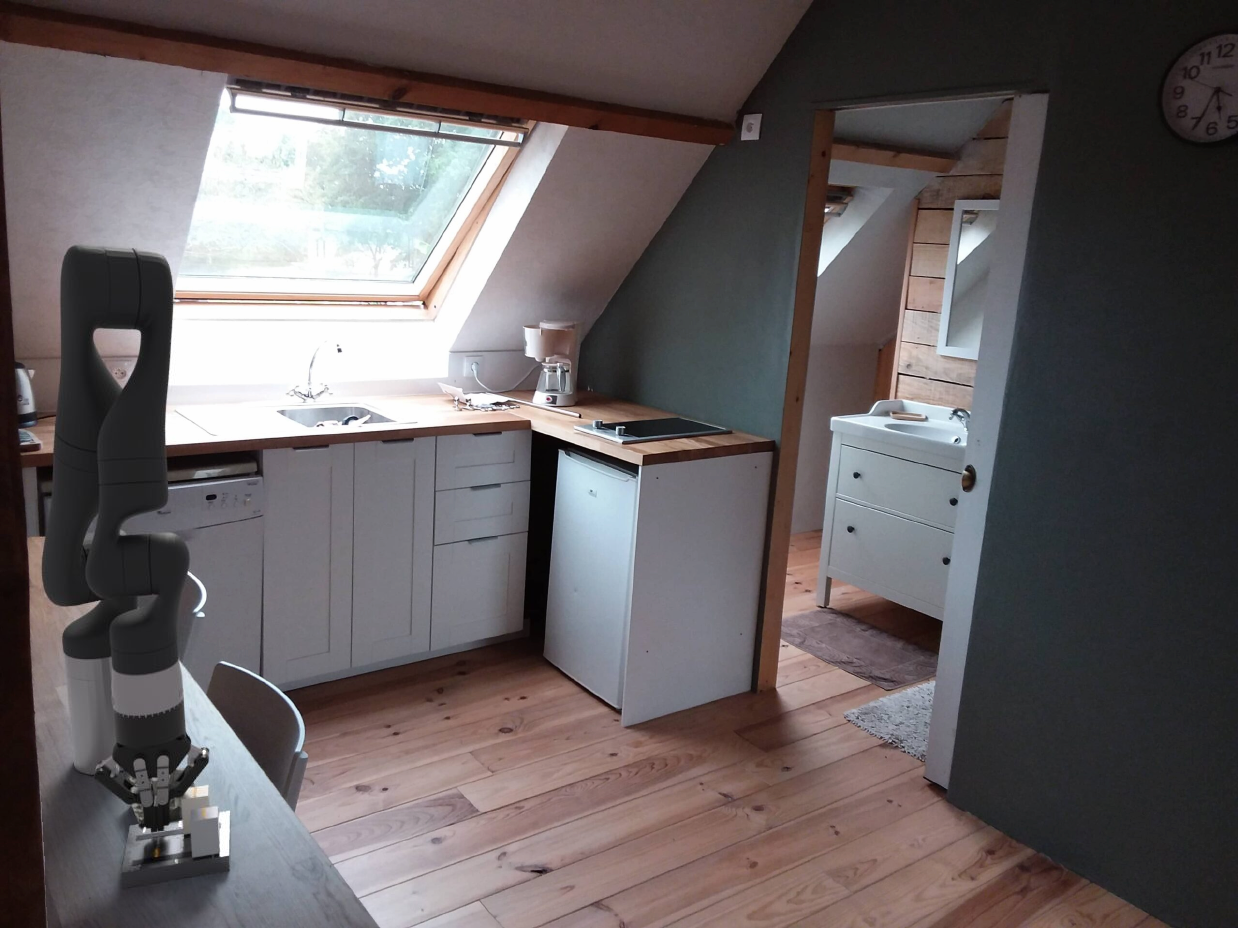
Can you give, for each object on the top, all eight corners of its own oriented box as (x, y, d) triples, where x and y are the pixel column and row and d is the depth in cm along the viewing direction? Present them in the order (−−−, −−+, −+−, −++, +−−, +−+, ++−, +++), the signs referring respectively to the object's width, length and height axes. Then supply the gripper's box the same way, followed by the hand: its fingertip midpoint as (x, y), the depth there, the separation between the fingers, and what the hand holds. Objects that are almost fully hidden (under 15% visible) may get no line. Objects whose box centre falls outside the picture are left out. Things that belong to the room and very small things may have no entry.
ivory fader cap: (184, 823, 123) (182, 788, 122) (210, 819, 124) (208, 784, 123) (183, 834, 121) (181, 798, 119) (210, 830, 122) (208, 794, 120)
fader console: (131, 839, 123) (129, 824, 122) (230, 824, 127) (229, 809, 126) (122, 887, 114) (121, 872, 114) (229, 869, 118) (228, 854, 118)
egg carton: (128, 797, 131) (126, 769, 131) (190, 783, 135) (188, 756, 134) (135, 840, 122) (133, 810, 122) (201, 824, 126) (199, 795, 125)
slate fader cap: (193, 845, 119) (190, 809, 117) (220, 840, 120) (218, 805, 118) (192, 857, 116) (189, 820, 115) (219, 852, 117) (217, 816, 116)
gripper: (210, 677, 122) (217, 802, 126) (90, 689, 117) (101, 819, 122) (208, 705, 115) (216, 836, 119) (80, 719, 111) (92, 856, 115)
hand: (158, 827), depth 120 cm, fingers closed
